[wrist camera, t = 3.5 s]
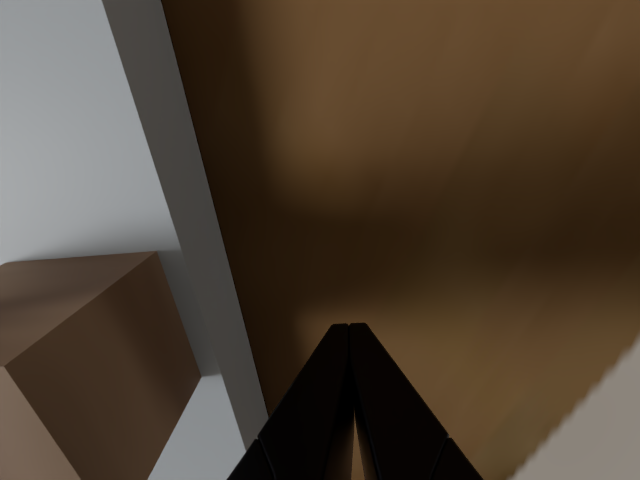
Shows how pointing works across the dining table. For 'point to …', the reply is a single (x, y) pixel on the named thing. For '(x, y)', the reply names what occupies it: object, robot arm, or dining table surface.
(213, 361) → the trap deck
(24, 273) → the walnut block
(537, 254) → the dining table surface
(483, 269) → the dining table surface
